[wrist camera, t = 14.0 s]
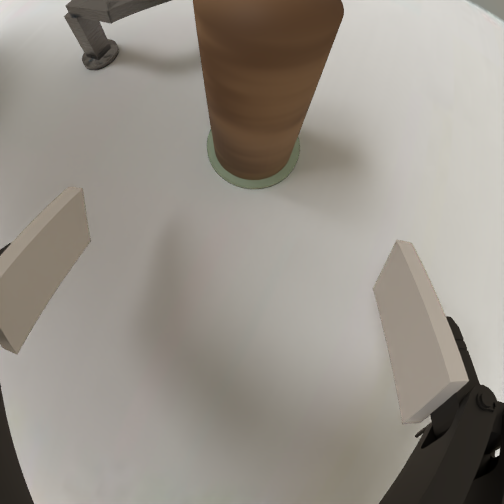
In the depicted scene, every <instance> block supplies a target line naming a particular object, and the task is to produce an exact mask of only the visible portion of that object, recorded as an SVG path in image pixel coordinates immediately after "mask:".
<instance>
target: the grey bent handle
mask: <svg viewBox="0 0 504 504" xmlns="http://www.w3.org/2000/svg"><path fill="white" fill-rule="evenodd" d="M168 1H171V0H72V1H71V2H69V3H68V4H67V5H66V8H67V10H68V13H67V14H66V15H65V16H64V17H65V19H66V21H67V23H68V24H69V26H70V28H71V30H72V31H73V33H74V35H75V37H76V39H77V40H78V42H79V44H80V46H81V47H82V49H83V51H84V52H85V53H84V54H83V57H82V61H83V63H84V65H85V67H86V68H87V69H89V70H98V69H101V68H103V67H105V66H107V65H109V64H110V63H111V62H112V61H113V60H114V59H115V58H116V56H117V54H118V47H117V45H116V43H115V41H113V40H110V39H107V37H106V35H105V33H104V31H103V29H102V26H101V24H100V22H99V21H101V22H106V23H113V22H115V21H117V20H119V19H122V18H124V17H127V16H129V15H132V14H134V13H137V12H139V11H142V10H145V9H148V8H150V7H153V6H156V5H159V4H162V3H165V2H168Z"/></svg>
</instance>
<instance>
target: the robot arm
mask: <svg viewBox="0 0 504 504" xmlns="http://www.w3.org/2000/svg"><path fill="white" fill-rule="evenodd" d="M90 242H91V239H90V234H89V228H88V222H87V216H86V209H85V202H84V195H83V188H75V187H68V188H67V189H66V190H64V191H63V192H62V193H61V194H60V195H59V196H58V197H57V198H56V199H55V200H54V201H53V202H52V203H50V204H49V205H48V206H47V207H46V208H45V209H44V210H43V211H42V212H41V213H40V214H39V215H38V216H37V217H36V218H35V219H34V220H33V221H32V222H31V223H30V224H29V225H28V226H27V227H26V228H25V229H24V230H23V231H22V232H21V234H20V235H19V236H18V237H17V238H16V239H15V240H14V241H13V242H12V243H9V244H8V245H6V246H5V247H4V248H2V249H1V250H0V344H1V346H2V347H3V348H4V349H6V350H8V351H11V352H13V353H15V354H18V352H19V351H20V349H21V347H22V345H23V343H24V342H25V340H26V338H27V336H28V335H29V333H30V331H31V330H32V328H33V326H34V325H35V323H36V321H37V320H38V318H39V316H40V315H41V313H42V311H43V310H44V308H45V307H46V305H47V304H48V302H49V300H50V299H51V297H52V296H53V294H54V293H55V291H56V290H57V288H58V287H59V285H60V284H61V282H62V281H63V279H64V278H65V276H66V275H67V274H68V272H69V271H70V269H71V268H72V266H73V265H74V264H75V262H76V261H77V259H78V258H79V257H80V255H81V254H82V252H83V251H84V250H85V248H86V247H87V246H88V244H89V243H90ZM373 291H374V295H375V298H376V302H377V306H378V309H379V313H380V317H381V321H382V325H383V329H384V333H385V338H386V342H387V346H388V351H389V355H390V360H391V364H392V369H393V374H394V379H395V384H396V389H397V395H398V400H399V406H400V412H401V418H402V424H407V423H420V422H422V421H423V420H424V419H425V418H427V417H428V416H429V415H431V420H432V422H431V423H430V424H429V425H427V426H426V427H425V428H423V429H422V430H420V431H419V432H418V433H417V434H416V435H415V437H419V436H420V435H421V434H423V435H422V437H421V439H420V440H419V442H418V444H417V446H416V447H415V449H414V451H413V453H412V454H411V456H410V458H409V459H408V461H407V463H406V464H405V466H404V467H403V469H402V471H401V472H400V474H399V475H398V477H397V478H396V480H395V481H394V483H393V484H392V486H391V487H390V489H389V490H388V491H387V493H386V494H385V496H384V497H383V499H382V500H381V501H380V503H379V504H504V403H502V402H499V401H497V400H496V397H495V395H494V393H493V392H492V391H491V390H490V389H489V388H488V387H486V386H484V385H480V384H479V381H478V378H477V375H476V372H475V369H474V366H473V363H472V360H471V358H470V355H469V352H468V351H467V347H466V344H465V342H464V341H463V337H462V334H461V332H460V329H459V327H458V326H457V324H456V323H455V322H454V321H453V319H452V318H451V317H446V316H445V313H444V311H443V309H442V306H441V304H440V302H439V299H438V297H437V295H436V292H435V290H434V288H433V286H432V284H431V281H430V279H429V277H428V275H427V273H426V271H425V269H424V266H423V264H422V262H421V260H420V258H419V256H418V254H417V252H416V250H415V248H414V246H413V244H412V243H410V242H405V241H400V240H396V242H395V244H394V246H393V249H392V251H391V253H390V255H389V257H388V259H387V261H386V263H385V265H384V267H383V269H382V271H381V273H380V275H379V277H378V279H377V281H376V283H375V285H374V287H373ZM499 448H500V455H499V456H497V457H495V451H496V450H498V449H499ZM0 504H34V502H33V500H32V497H31V495H30V492H29V490H28V487H27V484H26V482H25V479H24V476H23V473H22V470H21V467H20V464H19V461H18V458H17V455H16V451H15V448H14V444H13V441H12V437H11V433H10V429H9V425H8V421H7V417H6V412H5V407H4V402H3V397H2V391H1V385H0Z"/></svg>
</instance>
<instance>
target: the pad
mask: <svg viewBox="0 0 504 504" xmlns="http://www.w3.org/2000/svg"><path fill="white" fill-rule="evenodd" d="M207 151H208V157H209V160H210V162H211V164H212V166H213V168H214V169H215V171H216V172H217V173H218V174H219V175H220V176H221V177H222V178H223V179H224V180H226V181H228V182H229V183H231V184H233V185H235V186H239V187H242V188H247V189H261V188H266V187H270V186H273V185H275V184H277V183H279V182H280V181H282V180H283V179H284V178H286V177H287V176H288V175H289V174H290V173H291V171H292V170H293V168H294V166H295V164H296V162H297V160H298V156H299V151H300V145H299V139H298V137H297V140H296V142H295V145H294V148H293V150H292V153H291V156H290V158H289V160H288V162H287V164H286V165H285V167H284V168H283V169H282V170H281V171H279V172H278V173H277V174H275V175H273V176H271V177H269V178H265V179H261V180H247V179H242V178H239V177H236V176H234V175H232V174H231V173H229V172H228V171H226V170H225V169H224V168H223V167H222V166H221V164H220V163H219V161H218V159H217V157H216V154H215V150H214V144H213V138H212V131H211V130H210V132H209V135H208V140H207Z"/></svg>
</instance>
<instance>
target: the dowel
mask: <svg viewBox="0 0 504 504" xmlns="http://www.w3.org/2000/svg"><path fill="white" fill-rule="evenodd" d="M193 6H194V14H195V21H196V28H197V36H198V43H199V50H200V57H201V64H202V71H203V78H204V85H205V92H206V98H207V105H208V112H209V118H210V125H211V131H212V138H213V144H214V150H215V154H216V157H217V159H218V161H219V163H220V164H221V166H222V167H223V168H224V169H225V170H226V171H228V172H229V173H231V174H232V175H234V176H236V177H239V178H242V179H247V180H261V179H265V178H269V177H271V176H273V175H275V174H277V173H278V172H279V171H281V170H282V169H283V168H284V167H285V165H286V164H287V162H288V160H289V158H290V156H291V153H292V150H293V148H294V145H295V142H296V140H297V137H298V135H299V132H300V129H301V127H302V124H303V121H304V119H305V116H306V113H307V111H308V108H309V106H310V103H311V100H312V98H313V95H314V92H315V90H316V87H317V84H318V82H319V79H320V77H321V74H322V71H323V69H324V66H325V63H326V61H327V58H328V55H329V53H330V50H331V48H332V45H333V42H334V40H335V37H336V34H337V32H338V29H339V26H340V24H341V21H342V18H343V15H344V8H343V4H342V2H341V0H193Z"/></svg>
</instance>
